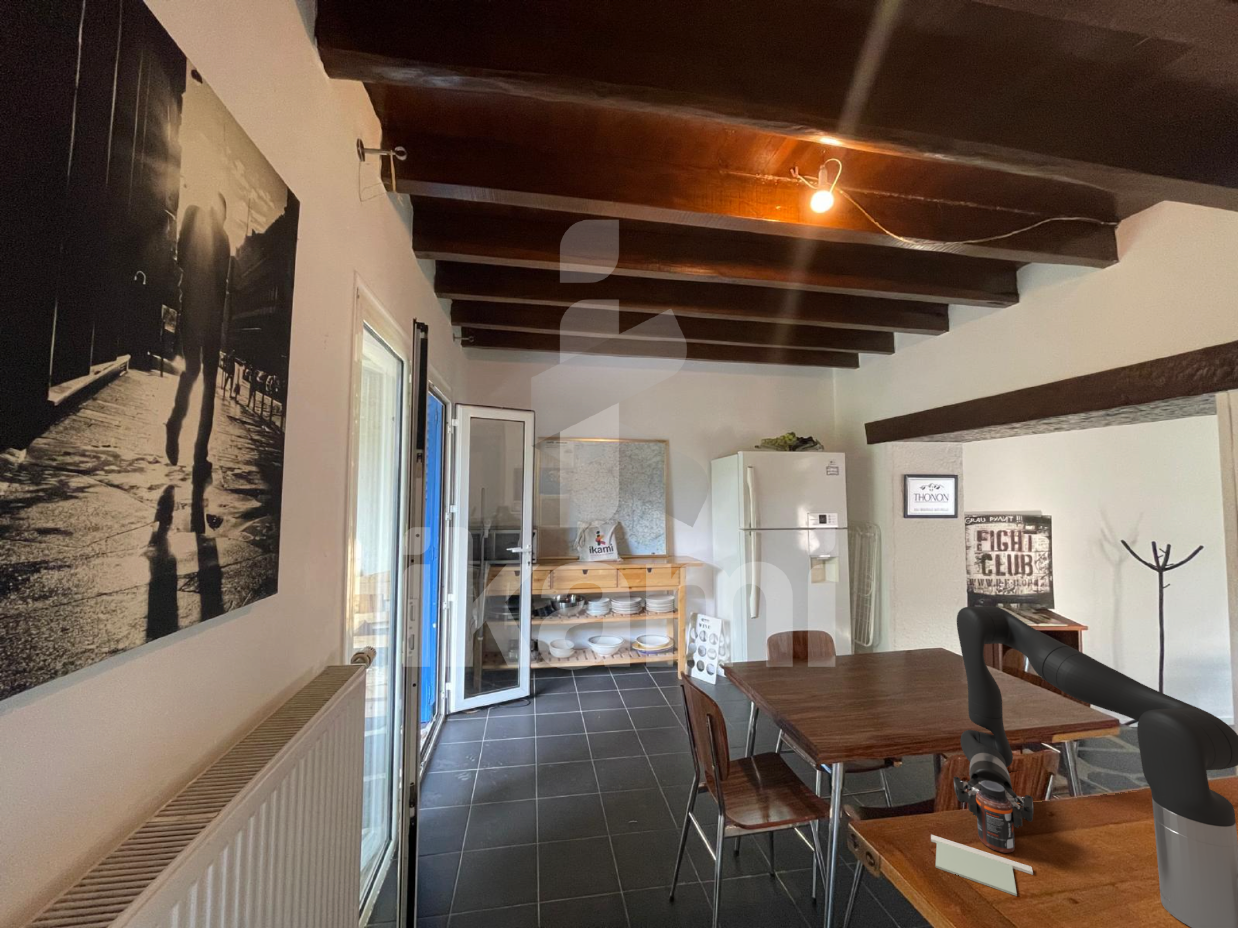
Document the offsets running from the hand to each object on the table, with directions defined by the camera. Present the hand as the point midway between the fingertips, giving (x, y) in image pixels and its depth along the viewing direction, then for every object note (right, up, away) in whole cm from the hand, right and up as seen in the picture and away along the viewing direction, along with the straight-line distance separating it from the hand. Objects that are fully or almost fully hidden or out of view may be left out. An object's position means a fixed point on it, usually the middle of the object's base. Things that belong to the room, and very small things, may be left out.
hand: (995, 816), depth 97 cm
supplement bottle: (+1, -7, +1) cm, 7 cm away
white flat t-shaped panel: (-6, -6, -4) cm, 10 cm away
